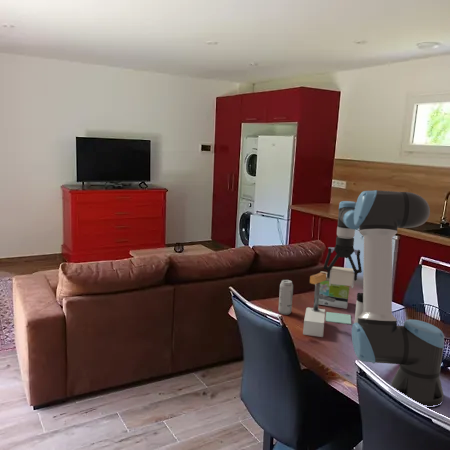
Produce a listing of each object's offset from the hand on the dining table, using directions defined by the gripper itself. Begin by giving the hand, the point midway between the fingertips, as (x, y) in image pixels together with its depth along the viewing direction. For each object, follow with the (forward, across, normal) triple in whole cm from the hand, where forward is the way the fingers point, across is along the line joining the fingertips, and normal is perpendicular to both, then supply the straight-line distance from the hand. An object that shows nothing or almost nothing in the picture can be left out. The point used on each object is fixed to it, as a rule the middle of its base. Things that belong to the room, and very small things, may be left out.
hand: (341, 285), depth 200 cm
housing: (+15, +10, +15) cm, 24 cm away
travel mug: (+15, -9, +21) cm, 28 cm away
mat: (+15, 0, 0) cm, 15 cm away
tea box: (+16, +3, -19) cm, 25 cm away
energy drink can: (+15, +24, +1) cm, 29 cm away
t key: (+9, +7, +11) cm, 16 cm away
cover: (-2, 0, 0) cm, 2 cm away
